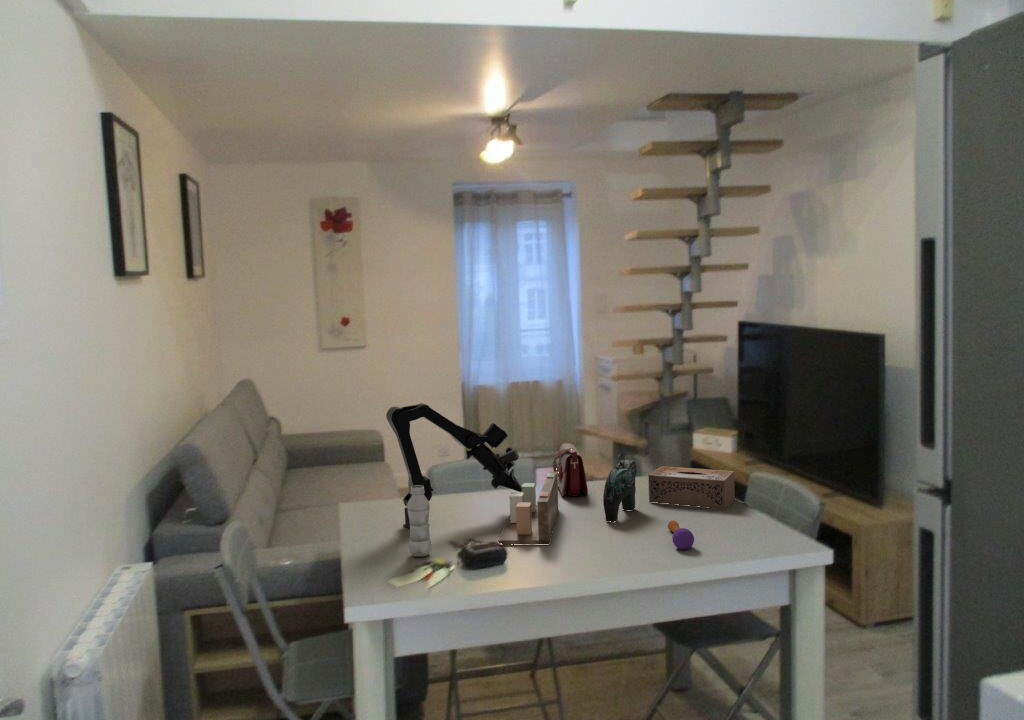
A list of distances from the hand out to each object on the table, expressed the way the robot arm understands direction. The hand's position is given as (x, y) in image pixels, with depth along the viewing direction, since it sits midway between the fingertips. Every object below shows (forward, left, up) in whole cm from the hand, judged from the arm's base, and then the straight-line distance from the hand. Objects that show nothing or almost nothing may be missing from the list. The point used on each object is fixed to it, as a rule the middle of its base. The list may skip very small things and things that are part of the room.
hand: (521, 491), depth 264 cm
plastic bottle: (-46, -11, -8) cm, 48 cm away
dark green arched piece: (+23, -23, -8) cm, 34 cm away
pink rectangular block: (-15, -19, -6) cm, 25 cm away
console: (-6, -11, -8) cm, 15 cm away
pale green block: (+1, -2, -6) cm, 7 cm away
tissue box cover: (+52, -28, -9) cm, 60 cm away
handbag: (+34, +14, -8) cm, 38 cm away
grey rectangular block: (-9, -8, -6) cm, 14 cm away
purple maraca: (+16, -53, -9) cm, 56 cm away
